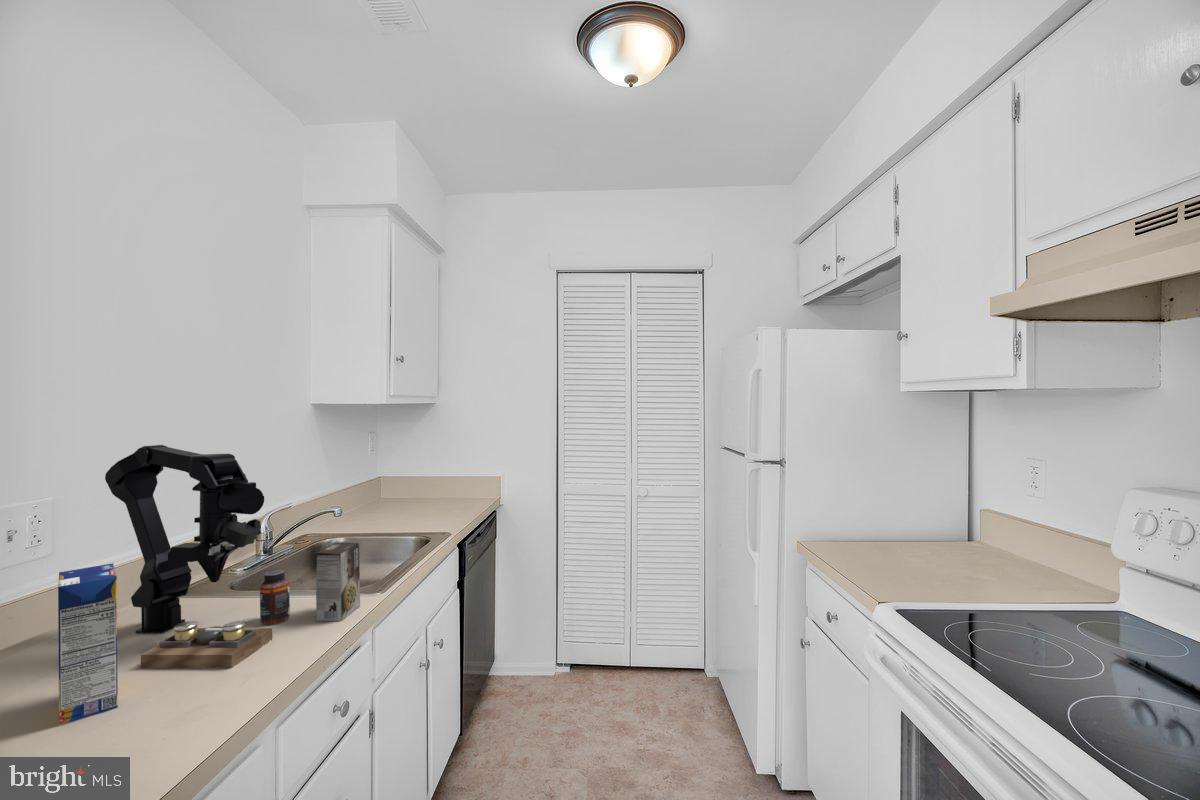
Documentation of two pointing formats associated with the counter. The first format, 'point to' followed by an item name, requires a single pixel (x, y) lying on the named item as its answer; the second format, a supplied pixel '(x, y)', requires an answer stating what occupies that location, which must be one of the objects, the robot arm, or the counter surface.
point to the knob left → (186, 631)
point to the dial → (208, 635)
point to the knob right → (233, 631)
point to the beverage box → (87, 642)
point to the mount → (205, 651)
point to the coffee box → (337, 581)
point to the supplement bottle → (274, 598)
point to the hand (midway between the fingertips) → (214, 581)
